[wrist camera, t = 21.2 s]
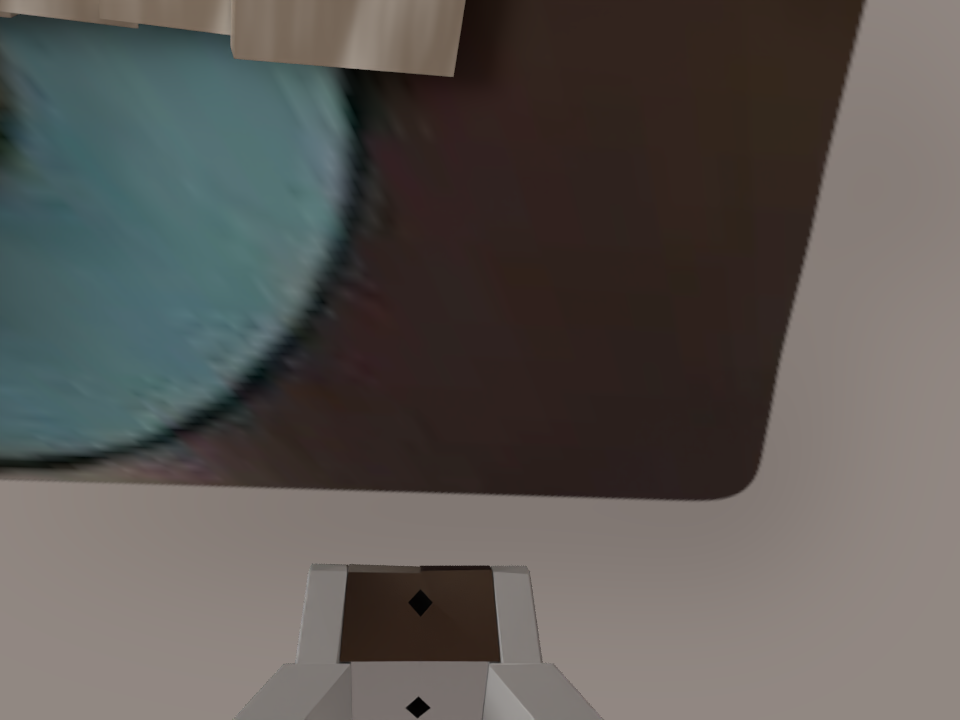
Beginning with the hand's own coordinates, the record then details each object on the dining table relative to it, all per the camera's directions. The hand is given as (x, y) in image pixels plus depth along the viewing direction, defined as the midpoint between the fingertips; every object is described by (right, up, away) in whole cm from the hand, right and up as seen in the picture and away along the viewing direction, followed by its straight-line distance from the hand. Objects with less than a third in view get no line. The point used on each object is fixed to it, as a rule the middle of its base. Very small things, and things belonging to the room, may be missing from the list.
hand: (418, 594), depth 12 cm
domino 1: (0, +18, +24) cm, 30 cm away
